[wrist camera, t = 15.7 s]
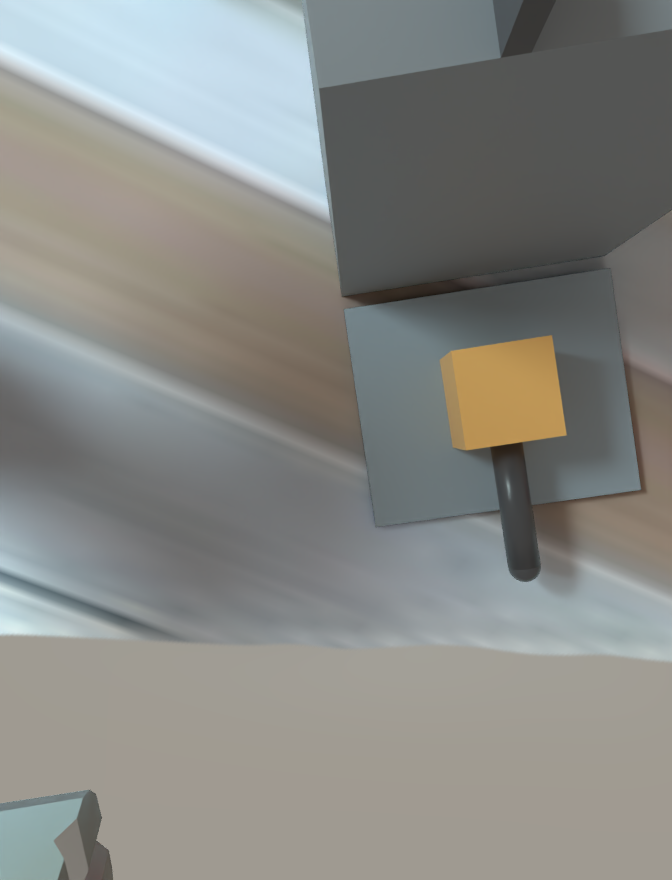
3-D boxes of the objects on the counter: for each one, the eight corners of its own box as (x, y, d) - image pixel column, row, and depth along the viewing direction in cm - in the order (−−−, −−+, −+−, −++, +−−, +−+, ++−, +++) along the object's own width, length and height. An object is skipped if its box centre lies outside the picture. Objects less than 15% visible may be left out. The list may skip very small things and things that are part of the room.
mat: (375, 525, 42) (375, 527, 42) (344, 311, 42) (343, 309, 42) (636, 488, 42) (641, 489, 41) (606, 270, 41) (610, 268, 41)
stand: (341, 296, 42) (311, 26, 14) (324, 180, 42) (258, -338, 13) (604, 255, 41) (1149, -118, 13) (588, 137, 41) (1102, -501, 13)
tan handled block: (472, 577, 42) (488, 598, 37) (439, 359, 41) (451, 350, 36) (560, 565, 41) (588, 584, 36) (528, 346, 41) (551, 335, 36)
